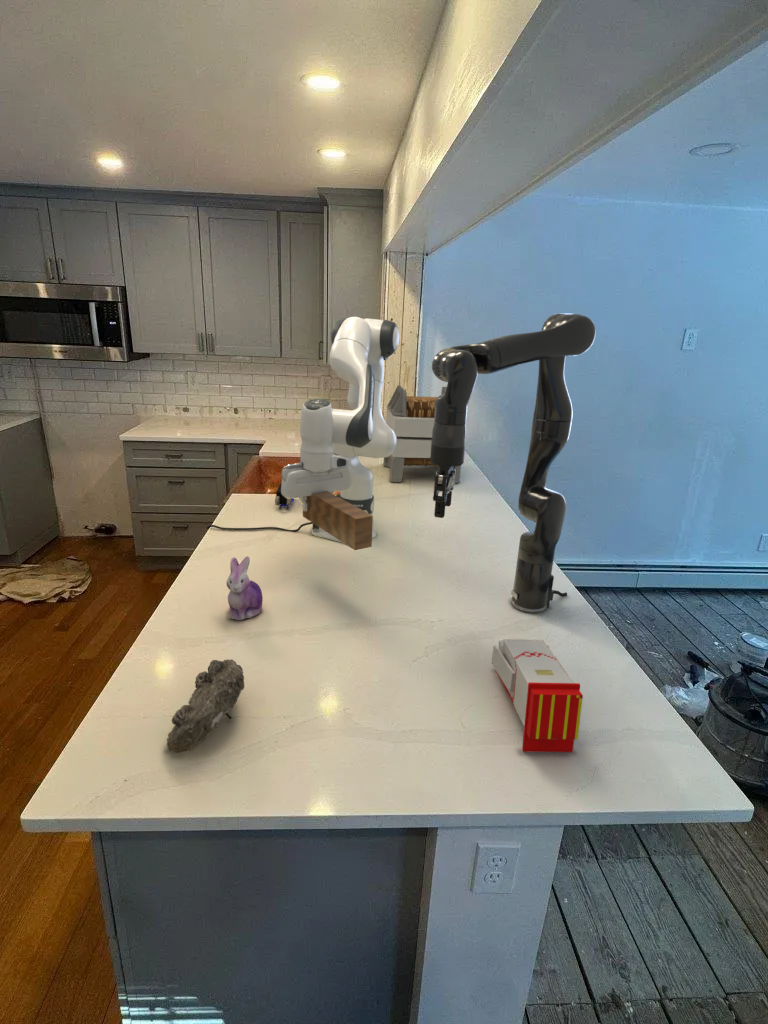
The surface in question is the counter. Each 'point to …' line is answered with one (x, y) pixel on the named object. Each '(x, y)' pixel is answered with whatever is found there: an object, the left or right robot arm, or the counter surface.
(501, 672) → the toy
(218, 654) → the counter surface
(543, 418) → the right robot arm
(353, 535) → the bar
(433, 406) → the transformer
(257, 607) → the figurine
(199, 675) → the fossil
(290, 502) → the figurine character
